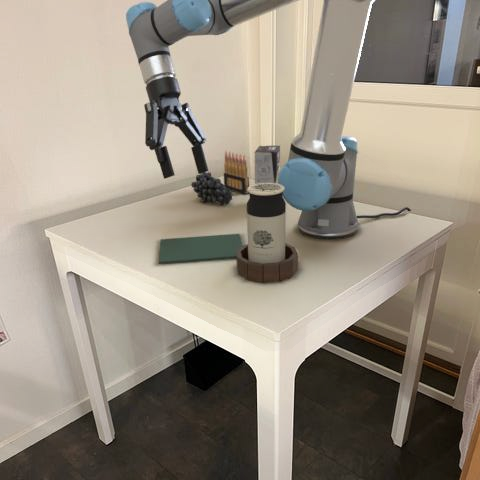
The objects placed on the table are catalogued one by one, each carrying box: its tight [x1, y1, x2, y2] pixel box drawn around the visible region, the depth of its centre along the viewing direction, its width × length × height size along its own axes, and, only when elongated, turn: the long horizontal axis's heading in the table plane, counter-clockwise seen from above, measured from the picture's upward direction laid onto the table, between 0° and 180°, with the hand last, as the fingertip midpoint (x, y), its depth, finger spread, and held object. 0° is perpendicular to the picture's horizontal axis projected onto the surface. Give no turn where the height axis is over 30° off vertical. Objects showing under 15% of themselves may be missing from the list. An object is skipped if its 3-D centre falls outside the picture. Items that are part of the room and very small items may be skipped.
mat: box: [158, 233, 243, 265], centre depth 117 cm, size 20×14×1 cm
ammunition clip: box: [223, 150, 250, 195], centre depth 155 cm, size 11×2×12 cm, turn 41°
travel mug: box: [246, 183, 287, 264], centre depth 101 cm, size 8×8×18 cm
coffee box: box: [254, 145, 281, 184], centre depth 140 cm, size 9×6×16 cm
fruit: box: [190, 171, 234, 206], centre depth 146 cm, size 9×8×15 cm
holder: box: [235, 242, 299, 284], centre depth 105 cm, size 13×13×4 cm
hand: (187, 174), depth 115 cm, fingers open, 13 cm apart
